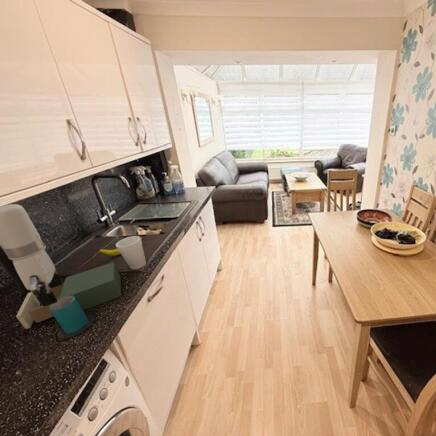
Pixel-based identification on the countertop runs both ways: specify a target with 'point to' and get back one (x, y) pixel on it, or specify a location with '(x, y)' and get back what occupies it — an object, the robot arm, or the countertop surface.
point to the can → (69, 314)
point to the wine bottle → (13, 272)
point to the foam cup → (132, 251)
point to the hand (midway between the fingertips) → (54, 294)
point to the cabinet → (93, 286)
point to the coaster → (63, 335)
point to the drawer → (36, 308)
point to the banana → (111, 251)
